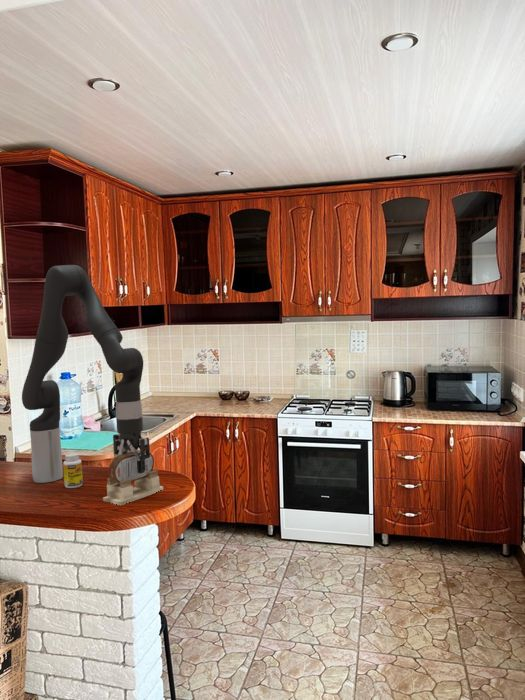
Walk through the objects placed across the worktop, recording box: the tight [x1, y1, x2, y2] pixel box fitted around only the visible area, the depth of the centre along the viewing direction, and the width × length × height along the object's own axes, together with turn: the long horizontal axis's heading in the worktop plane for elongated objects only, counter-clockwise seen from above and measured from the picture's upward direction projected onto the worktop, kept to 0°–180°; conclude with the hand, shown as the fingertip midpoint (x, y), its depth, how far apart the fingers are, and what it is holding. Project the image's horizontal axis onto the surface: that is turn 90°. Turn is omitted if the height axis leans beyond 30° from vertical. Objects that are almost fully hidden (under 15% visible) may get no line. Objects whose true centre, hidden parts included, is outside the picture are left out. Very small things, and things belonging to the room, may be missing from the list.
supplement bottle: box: [62, 452, 84, 489], centre depth 169 cm, size 6×6×10 cm
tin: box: [108, 451, 155, 484], centre depth 157 cm, size 15×3×8 cm, turn 141°
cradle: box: [102, 469, 165, 507], centre depth 157 cm, size 8×16×6 cm, turn 142°
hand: (132, 470), depth 157 cm, fingers open, 7 cm apart
